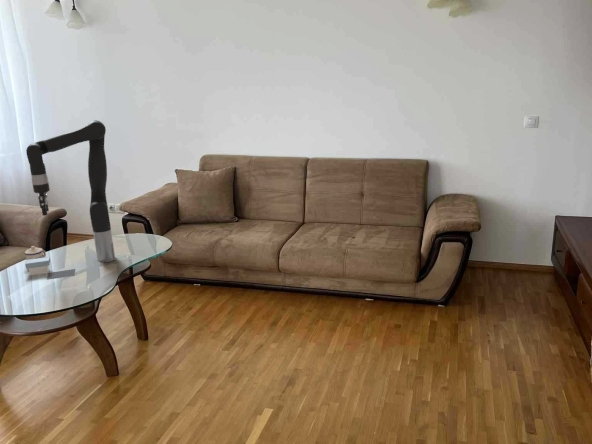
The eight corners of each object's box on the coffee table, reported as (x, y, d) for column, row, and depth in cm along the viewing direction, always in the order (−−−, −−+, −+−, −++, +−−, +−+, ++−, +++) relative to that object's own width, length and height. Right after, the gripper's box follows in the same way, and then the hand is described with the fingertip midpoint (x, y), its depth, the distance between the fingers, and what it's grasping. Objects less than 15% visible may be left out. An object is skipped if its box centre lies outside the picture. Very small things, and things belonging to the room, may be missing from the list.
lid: (50, 261, 292) (49, 256, 291) (49, 265, 286) (48, 260, 285) (27, 264, 289) (26, 259, 288) (26, 268, 283) (25, 263, 282)
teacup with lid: (36, 270, 294) (32, 249, 291) (23, 269, 297) (19, 248, 294) (53, 262, 305) (49, 242, 302) (40, 261, 308) (36, 241, 305)
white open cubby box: (49, 270, 293) (48, 261, 291) (49, 274, 288) (47, 265, 286) (31, 273, 290) (29, 264, 289) (30, 277, 285) (28, 268, 284)
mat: (75, 270, 291) (75, 268, 291) (74, 277, 282) (74, 275, 282) (48, 274, 287) (48, 272, 287) (47, 281, 278) (46, 279, 278)
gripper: (47, 184, 279) (52, 215, 283) (49, 179, 292) (54, 209, 296) (30, 186, 276) (36, 217, 281) (33, 180, 289) (39, 210, 294)
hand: (45, 213), depth 289 cm, fingers open, 8 cm apart
